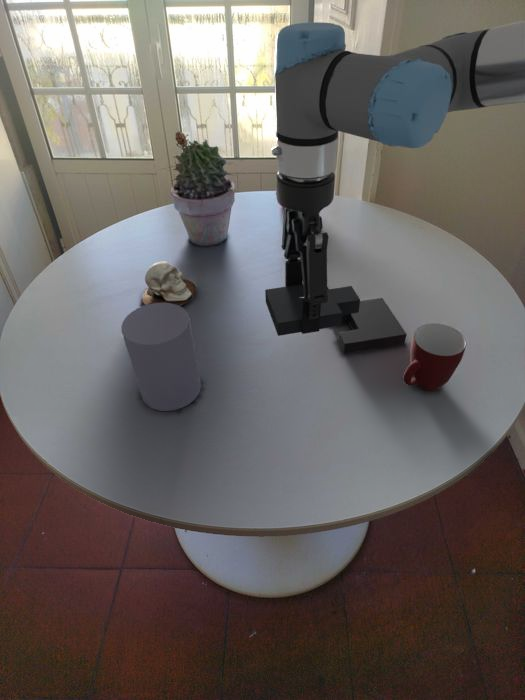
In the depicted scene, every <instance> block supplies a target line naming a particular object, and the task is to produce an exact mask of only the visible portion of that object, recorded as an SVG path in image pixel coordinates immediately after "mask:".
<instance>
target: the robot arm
mask: <svg viewBox="0 0 525 700" xmlns="http://www.w3.org/2000/svg"><path fill="white" fill-rule="evenodd" d="M346 47H347V45H346V33H345V29H344V27H342V26H341V25H340V24H335V23H332V22H318V21H317V22H300V23H294V24H289V25H286V26H284V27H282V28H281V29H279V31H278V32H277V34H276V38H275V50H274V51H275V52H274V69H273V78H274V97H275V138H276V139H275V141H276V146H274V147H272V148H271V155H272V156H275V158H276V171H278V172H277V173H276V174H275V175H276V176H275V179H276V180H275V182H276V183H275V184H276V185H275V186H276V188H275V189H276V190H275V197H276V196H277V197H276V201H277V204H278V203H279V204H278V205H280V206H281V207H283V219H282V236H281V249H282V251H284V254H283V256H284V259H285V261H284V262H285V263H284V264H285V266H284V267H285V272H284V273H285V275H284V277H285V280H284V281H285V283H284V285H285V286H284V287H286V286H293V285H300V284H303V288H304V296H302V297H299V299H300V302H302V304H301V332H300V333H301V334H302V335H304V334H305V335H306V334H310V333H317V332H320V329H319V327H320V311H321V303H326V302H327V300H328V297H327V287H328V247H329V245H328V244H329V238H330V237H329V233H328V232H327V231H324V232H322V230H323V218H322V216H321V215H320V213H321V211H322V210H323V209H325V208H327V207H329V206H330V205H331V204H332V202H333V201H334V197H335V183H336V182H335V181H336V174H335V173H334V172H335V171H336V169H337V161H338V149H339V148H338V146H339V132H341V133H344V134H348V135H351V136H356V137H360V138H363V139H367V140H371V141H374V142H378V143H380V144H382V145H384V146H386V145H387V146H389V147H401V148H407V149H420V148H422V147H424V146H426V145H428V144H429V143H430V142H431V141H432V140H433V138H434V136H435V134H437V133H438V132H439V131H440V129H441V128H442V126H443V124H444V122H445V119H446V117H447V114H448V113H452V112H457V111H458V112H459V111H467V110H468V111H469V110H476V109H481V108H488V107H495V106H505V105H506V106H507V105H514V104H524V103H525V19H523V20H519V21H515V22H510V23H506V24H501V25H498V26H493V27H491V28H487V29H480V30H476V31H471V32H468V31H467V32H466V31H464V32H459V33H454V34H451V35H447V36H445V37H442V38H440V39H438V40H435V41H433V42H430V43H427V44H423V45H419V46H415V47H413V48H409V49H407V50H403V51H400V52H397V53H393V54H389V55H376V54H366V53H357V52H352V51H351V50H346Z"/></svg>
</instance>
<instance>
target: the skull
mask: <svg viewBox="0 0 525 700" xmlns="http://www.w3.org/2000/svg"><path fill="white" fill-rule="evenodd" d="M144 282H145V284H146V286H147V287H148V288H147V289H146V290H144V292H143V294H142V296H141V301H142V302H143V304H144V306H145V305H148V304H153V303H171V304H175V305H178V306H180V307H181V306H182V305H185V304H187V303H188V302H190V301H191V300H193V298H195V296H196V295H197V291H198V290H197V289H198V287H197V285H196V284H195V283H194V282H193V281H191V280H188V279H186V278H184V275H183V273H182V272H181V271H179V270H178V267H176V266H175V265H173V264H171V263H170V262H169V261H158V262H155V263H154V264H152V265H151V266H150V267H149V268H148V269H147V271H146V273H145V276H144Z"/></svg>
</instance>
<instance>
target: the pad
mask: <svg viewBox="0 0 525 700" xmlns="http://www.w3.org/2000/svg"><path fill="white" fill-rule="evenodd" d="M264 294H265V295H264V297H265V304H266V307H267V309H268V313H269V315H270V318H271V320H272V323H273V325H274V329H275V332H276V334H277V336H278V337H279V336H281V337H282V336H285V335H292V334H298V333H299V334H300V333H301V304H302V302H300V299H299V297H302V296H304V288H303V284H300V285H293V286H286V287H285V286H280V287H273V288H267V289H265V290H264ZM327 297H328V300H327V302H326V303H321V311H320V327H319V330H323V329H330V328H336V327H341V326H342V324H341V320H342V315H346V314H352V313H358V312H359V306H360V301H361V298H360V297H359V295H358V293H357V292H356V290H355V289H354V287H353V286H352V285H347V286H341V287H335V288H329V287H328V286H327Z"/></svg>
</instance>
